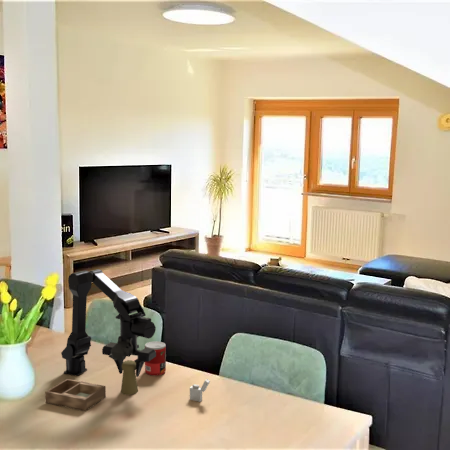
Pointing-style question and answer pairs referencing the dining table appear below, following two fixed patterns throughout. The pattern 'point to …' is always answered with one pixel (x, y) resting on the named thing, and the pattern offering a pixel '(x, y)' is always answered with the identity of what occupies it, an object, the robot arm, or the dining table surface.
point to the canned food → (156, 359)
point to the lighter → (198, 391)
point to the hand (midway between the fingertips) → (129, 374)
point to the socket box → (75, 394)
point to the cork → (129, 378)
